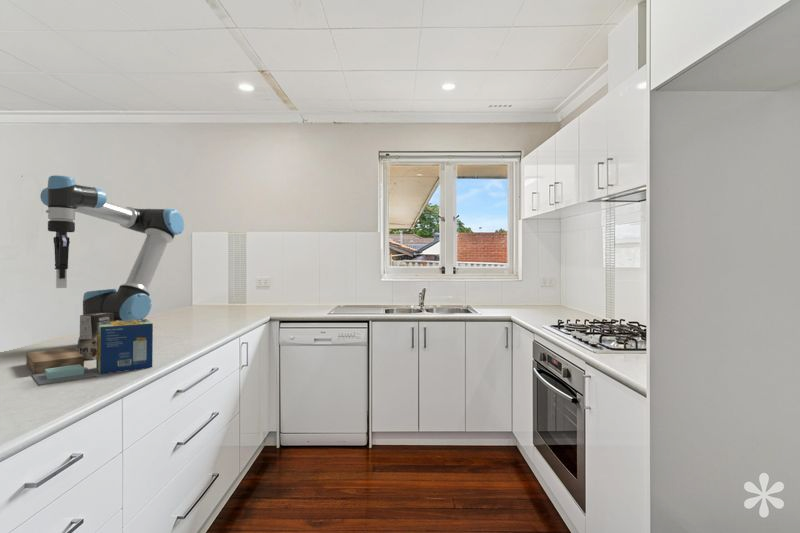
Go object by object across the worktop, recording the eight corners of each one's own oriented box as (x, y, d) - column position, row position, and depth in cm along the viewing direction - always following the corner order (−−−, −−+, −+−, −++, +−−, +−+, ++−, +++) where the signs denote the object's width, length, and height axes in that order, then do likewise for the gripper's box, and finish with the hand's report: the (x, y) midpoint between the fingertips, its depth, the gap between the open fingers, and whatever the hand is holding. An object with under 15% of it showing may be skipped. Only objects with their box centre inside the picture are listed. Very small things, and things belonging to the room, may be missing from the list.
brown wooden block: (72, 358, 160) (72, 347, 160) (83, 368, 147) (83, 356, 147) (26, 364, 150) (26, 352, 150) (33, 375, 138) (33, 362, 138)
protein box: (95, 367, 148) (95, 322, 148) (147, 361, 158) (147, 318, 158) (99, 374, 140) (99, 326, 140) (153, 367, 150) (153, 322, 150)
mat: (85, 368, 147) (85, 367, 147) (96, 376, 138) (96, 375, 138) (32, 375, 137) (32, 374, 137) (38, 385, 128) (38, 384, 128)
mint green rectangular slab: (83, 367, 139) (83, 374, 139) (80, 364, 143) (80, 370, 143) (48, 372, 133) (48, 379, 133) (45, 368, 137) (45, 375, 137)
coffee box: (93, 360, 158) (93, 315, 158) (78, 358, 160) (78, 314, 159) (114, 354, 167) (114, 312, 167) (100, 353, 169) (100, 311, 168)
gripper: (44, 220, 155) (44, 287, 155) (51, 219, 146) (51, 289, 146) (70, 222, 160) (70, 286, 161) (78, 220, 151) (78, 288, 152)
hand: (61, 287), depth 154 cm, fingers closed
